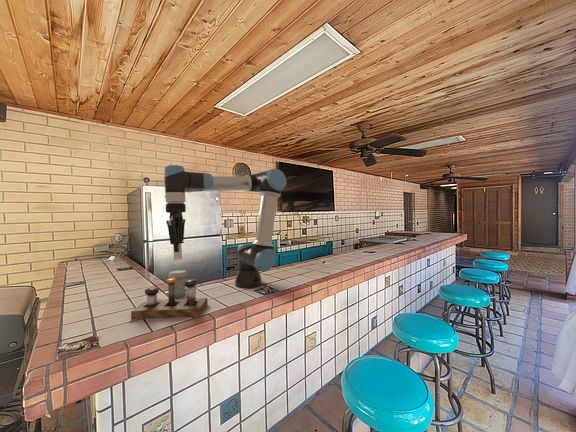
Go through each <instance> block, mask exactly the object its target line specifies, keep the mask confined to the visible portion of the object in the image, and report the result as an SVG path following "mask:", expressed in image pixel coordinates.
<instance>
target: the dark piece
mask: <svg viewBox="0 0 576 432" xmlns="http://www.w3.org/2000/svg"><path fill="white" fill-rule="evenodd" d="M175 283H176V279H175V278H171V279H169V278H167V279H166V285H167V286H168V288H167V289H168V290H167V291H168V299H169V305H174V304H175V299H176V298H175Z"/></svg>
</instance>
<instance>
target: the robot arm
mask: <svg viewBox="0 0 576 432" xmlns="http://www.w3.org/2000/svg"><path fill="white" fill-rule="evenodd" d="M163 173H164V176H163V178H164V192H165V195H164V198H165V203H166V204H165V212H166V213H167V214H169V220H166V223H165V224H166V226H167V230H168V235H169V244H170V245H173V247H172V248H173V260H174V261H178V260H180V261H181V260H183V252H182V244H184V243H185V241H184V239H185V225H186V219H185V218H184V216H183V213H186V211H187V210H186V209H187V208H186V193H193V192H195V193H196V192H223V191H225V192H226V191H245V192H248V193H249V192H251V193H252V192H253V193H254V192H255V193H259V194H260V196H261V197H260V198H261V199H260V207H259V212H258V220H257V226H256V227H257V228H256V234H255V240H254V241H253V242H251V243H246V244H245V243H244V244H239V245H238V246H237V273H236V276H235V279H234V285H235V287H238V288H244V289H250V288H255V287H260V285H262V283H263V282H262V281H263V279H262V277H261V274H260V272H268V271H270V270H271V269H272V268H274V267H275V266H276V265H275V264H276V262H277V254H276V252H275V251H274V244H273V242H272V241H273V235H274V233H273V231H274V225H275V218H276V211H277V203H278V198H279V197H281V196H282V195H281V194H282V191H283V190H285V188H286V185H287V177H286V175H285V174H284V173H283V171H282V170H280V169H278V168H272V169H268V170H265V171H260V172H257V173H251V174H245V175H244V176H240V175H239V176H235V175H232V176H224V175H223V176H222V175H219V176H217V175H212V174H211V173H206V172H195V171H194V172H193V171H186V170H185V167H184V166H182V165H177V164H169V165H166V166H165V167H164V172H163Z"/></svg>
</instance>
